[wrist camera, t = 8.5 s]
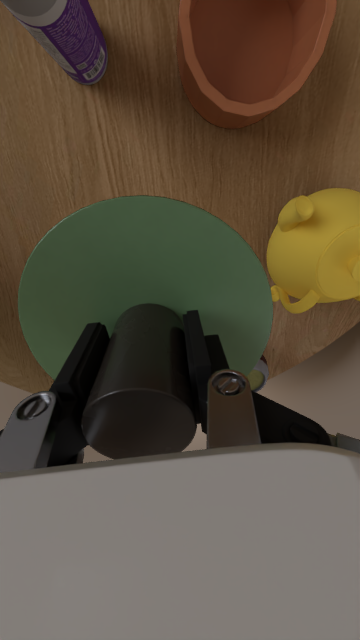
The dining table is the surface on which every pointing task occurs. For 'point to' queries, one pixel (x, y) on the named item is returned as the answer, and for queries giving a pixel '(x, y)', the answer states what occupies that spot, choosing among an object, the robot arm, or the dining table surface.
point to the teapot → (316, 249)
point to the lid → (143, 312)
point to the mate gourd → (258, 375)
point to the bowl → (248, 54)
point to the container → (65, 35)
